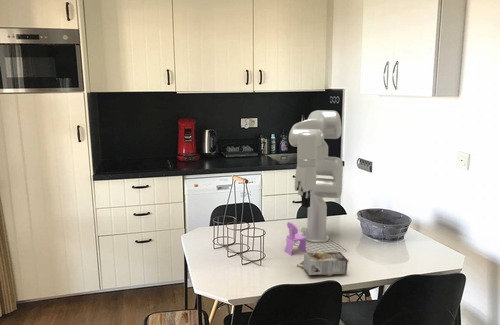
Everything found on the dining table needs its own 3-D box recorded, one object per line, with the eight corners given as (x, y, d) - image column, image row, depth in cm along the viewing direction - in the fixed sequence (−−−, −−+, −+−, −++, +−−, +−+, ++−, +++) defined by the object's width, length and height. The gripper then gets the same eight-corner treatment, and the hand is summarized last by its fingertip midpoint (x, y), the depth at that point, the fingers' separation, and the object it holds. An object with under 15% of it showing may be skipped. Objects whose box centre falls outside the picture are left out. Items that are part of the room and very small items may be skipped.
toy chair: (308, 252, 201) (308, 222, 198) (292, 256, 196) (293, 225, 194) (297, 247, 208) (298, 217, 205) (282, 250, 204) (283, 220, 201)
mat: (296, 266, 186) (296, 264, 186) (316, 253, 200) (316, 251, 200) (330, 276, 176) (330, 274, 176) (348, 261, 190) (348, 259, 190)
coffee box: (303, 252, 182) (339, 251, 184) (303, 267, 183) (339, 265, 185) (310, 260, 173) (348, 259, 176) (309, 275, 174) (347, 274, 176)
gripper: (307, 158, 179) (307, 200, 182) (288, 164, 167) (288, 209, 171) (323, 160, 174) (322, 203, 178) (305, 167, 162) (304, 213, 166)
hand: (305, 206), depth 174 cm, fingers closed
